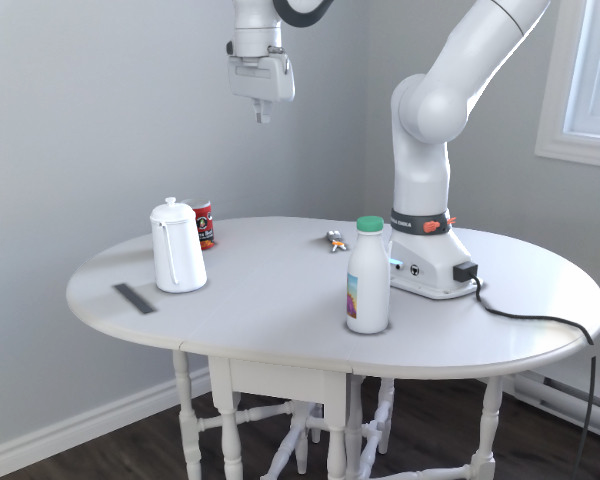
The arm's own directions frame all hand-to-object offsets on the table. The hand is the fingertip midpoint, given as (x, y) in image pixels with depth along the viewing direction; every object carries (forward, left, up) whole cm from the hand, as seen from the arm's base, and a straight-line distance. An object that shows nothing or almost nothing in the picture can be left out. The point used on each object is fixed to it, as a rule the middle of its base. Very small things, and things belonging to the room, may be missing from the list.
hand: (262, 123), depth 130 cm
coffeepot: (+3, +21, -31) cm, 38 cm away
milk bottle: (-37, +1, -31) cm, 48 cm away
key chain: (+6, -22, -31) cm, 39 cm away
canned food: (+26, +6, -31) cm, 41 cm away
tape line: (+3, +32, -31) cm, 45 cm away
